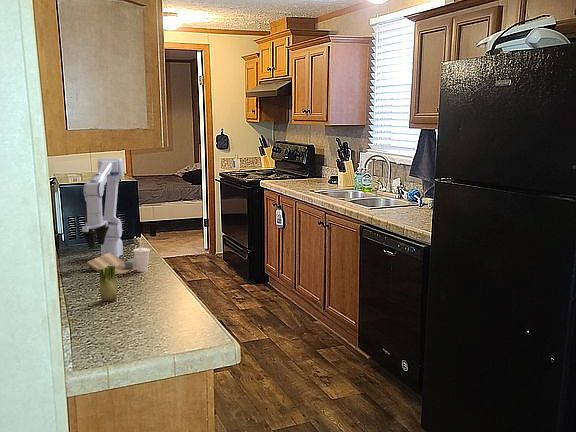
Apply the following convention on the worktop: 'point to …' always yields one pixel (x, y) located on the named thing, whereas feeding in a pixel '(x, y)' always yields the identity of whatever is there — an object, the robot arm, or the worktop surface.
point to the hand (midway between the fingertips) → (96, 246)
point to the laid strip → (122, 269)
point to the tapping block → (130, 263)
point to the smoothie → (141, 258)
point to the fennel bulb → (108, 283)
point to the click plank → (104, 262)
